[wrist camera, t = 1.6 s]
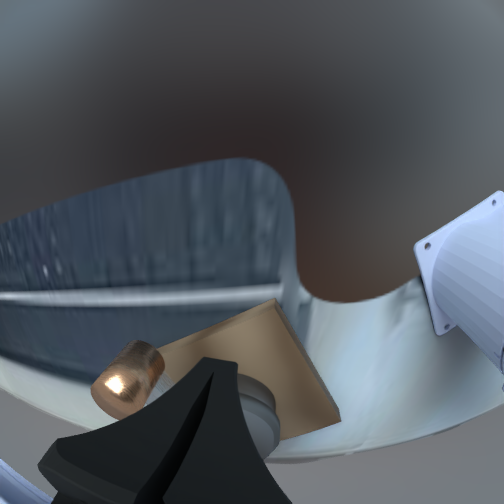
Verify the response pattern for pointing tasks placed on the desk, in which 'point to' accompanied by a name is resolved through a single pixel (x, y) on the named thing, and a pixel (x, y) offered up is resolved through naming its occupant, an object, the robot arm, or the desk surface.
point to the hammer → (131, 380)
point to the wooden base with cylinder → (262, 373)
